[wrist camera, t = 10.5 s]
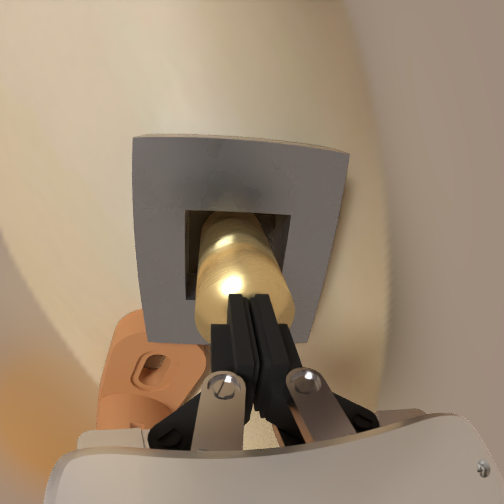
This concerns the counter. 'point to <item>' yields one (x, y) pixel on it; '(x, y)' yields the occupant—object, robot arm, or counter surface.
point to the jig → (233, 200)
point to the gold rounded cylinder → (236, 270)
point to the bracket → (144, 377)
